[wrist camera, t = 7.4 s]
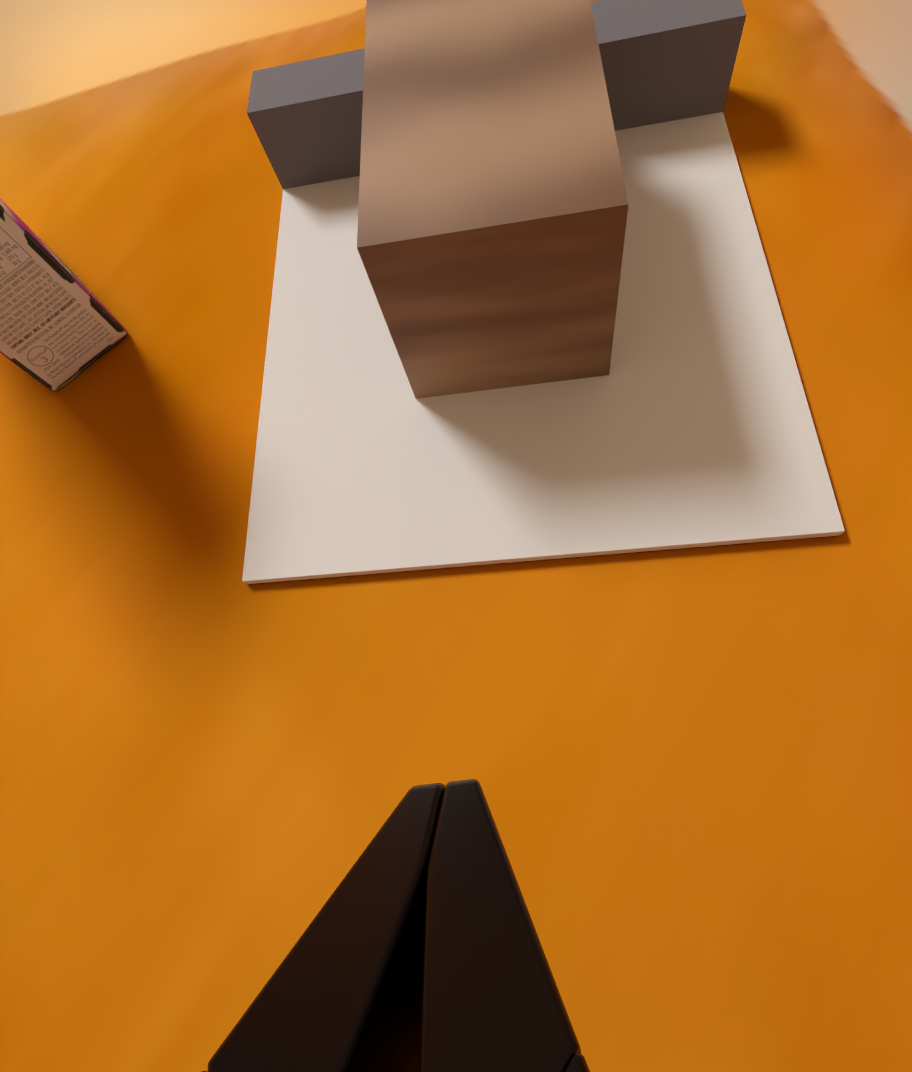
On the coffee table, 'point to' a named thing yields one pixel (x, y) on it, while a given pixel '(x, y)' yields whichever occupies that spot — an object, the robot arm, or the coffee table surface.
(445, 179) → the walnut slab
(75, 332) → the candy bar box
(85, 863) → the coffee table surface
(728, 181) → the white board
